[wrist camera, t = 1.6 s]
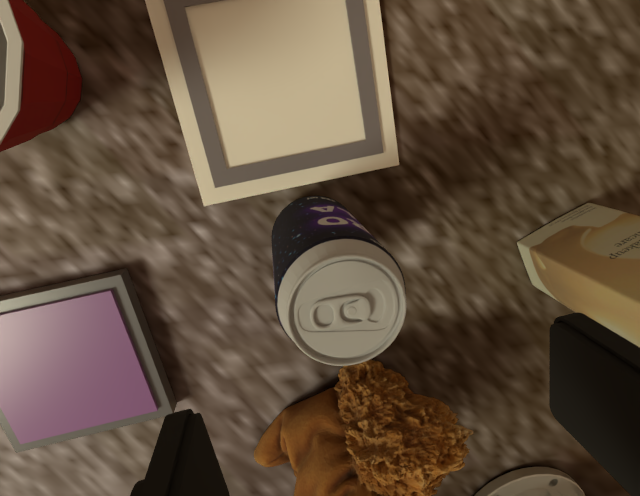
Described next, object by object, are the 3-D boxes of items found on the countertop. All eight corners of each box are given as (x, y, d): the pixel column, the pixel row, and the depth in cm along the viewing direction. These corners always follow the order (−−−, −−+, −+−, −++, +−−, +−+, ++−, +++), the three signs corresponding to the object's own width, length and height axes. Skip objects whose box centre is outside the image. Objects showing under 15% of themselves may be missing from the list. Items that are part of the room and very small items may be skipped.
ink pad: (126, 268, 26) (118, 276, 25) (176, 402, 30) (172, 417, 28) (-46, 306, 25) (-65, 316, 24) (25, 439, 29) (13, 456, 27)
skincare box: (587, 199, 29) (801, 248, 18) (602, 247, 30) (809, 322, 19) (510, 243, 29) (671, 320, 18) (529, 289, 31) (688, 388, 19)
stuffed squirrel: (246, 454, 32) (235, 666, 19) (339, 313, 29) (394, 454, 17) (349, 492, 34) (397, 700, 22) (442, 366, 32) (556, 520, 19)
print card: (369, -65, 22) (371, -69, 22) (397, 164, 26) (400, 165, 26) (138, -26, 21) (135, -30, 21) (204, 205, 26) (203, 206, 25)
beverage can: (356, 266, 28) (418, 361, 17) (277, 279, 28) (286, 385, 16) (349, 188, 26) (413, 234, 15) (265, 199, 26) (265, 256, 15)
